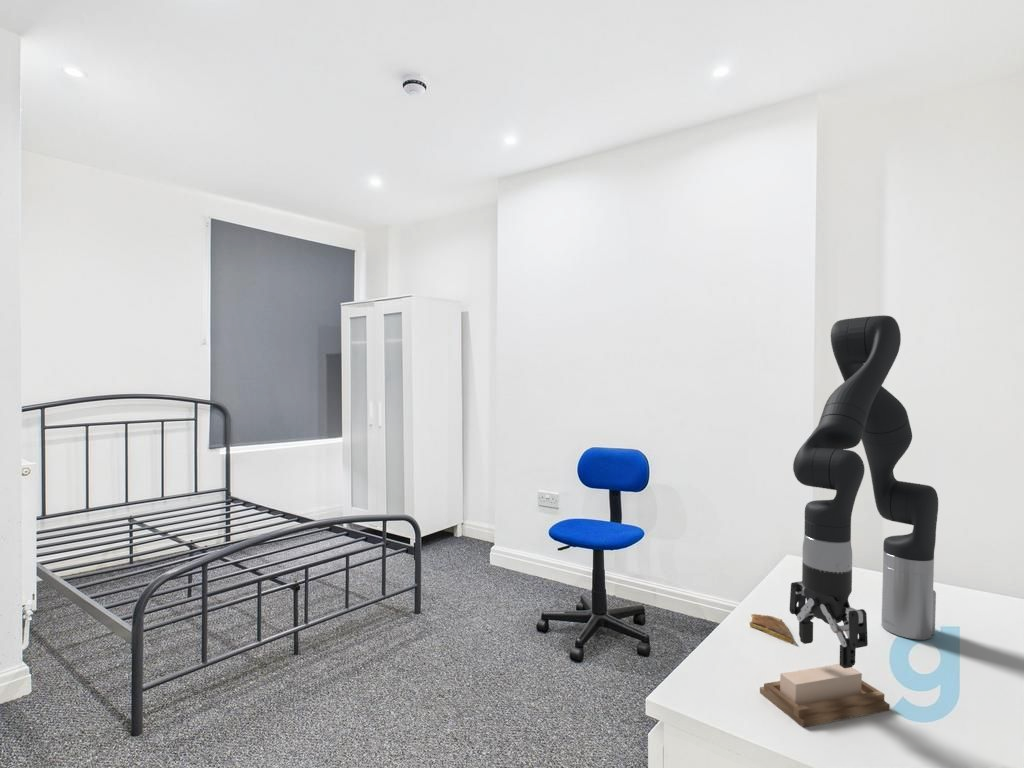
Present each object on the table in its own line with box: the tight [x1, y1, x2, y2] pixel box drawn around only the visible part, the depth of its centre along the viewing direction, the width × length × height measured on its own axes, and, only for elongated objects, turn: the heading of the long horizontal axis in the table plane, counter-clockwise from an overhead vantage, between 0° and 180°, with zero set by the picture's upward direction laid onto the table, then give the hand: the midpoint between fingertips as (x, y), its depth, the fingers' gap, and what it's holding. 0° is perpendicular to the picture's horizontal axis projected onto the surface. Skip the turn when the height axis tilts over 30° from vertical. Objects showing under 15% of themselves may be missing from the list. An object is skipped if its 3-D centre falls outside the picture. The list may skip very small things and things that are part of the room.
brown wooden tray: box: [759, 680, 891, 728], centre depth 97 cm, size 18×10×2 cm, turn 106°
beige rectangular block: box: [779, 663, 863, 706], centre depth 97 cm, size 14×4×4 cm, turn 106°
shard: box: [749, 613, 794, 644], centre depth 123 cm, size 11×8×2 cm
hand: (825, 654), depth 97 cm, fingers open, 8 cm apart
